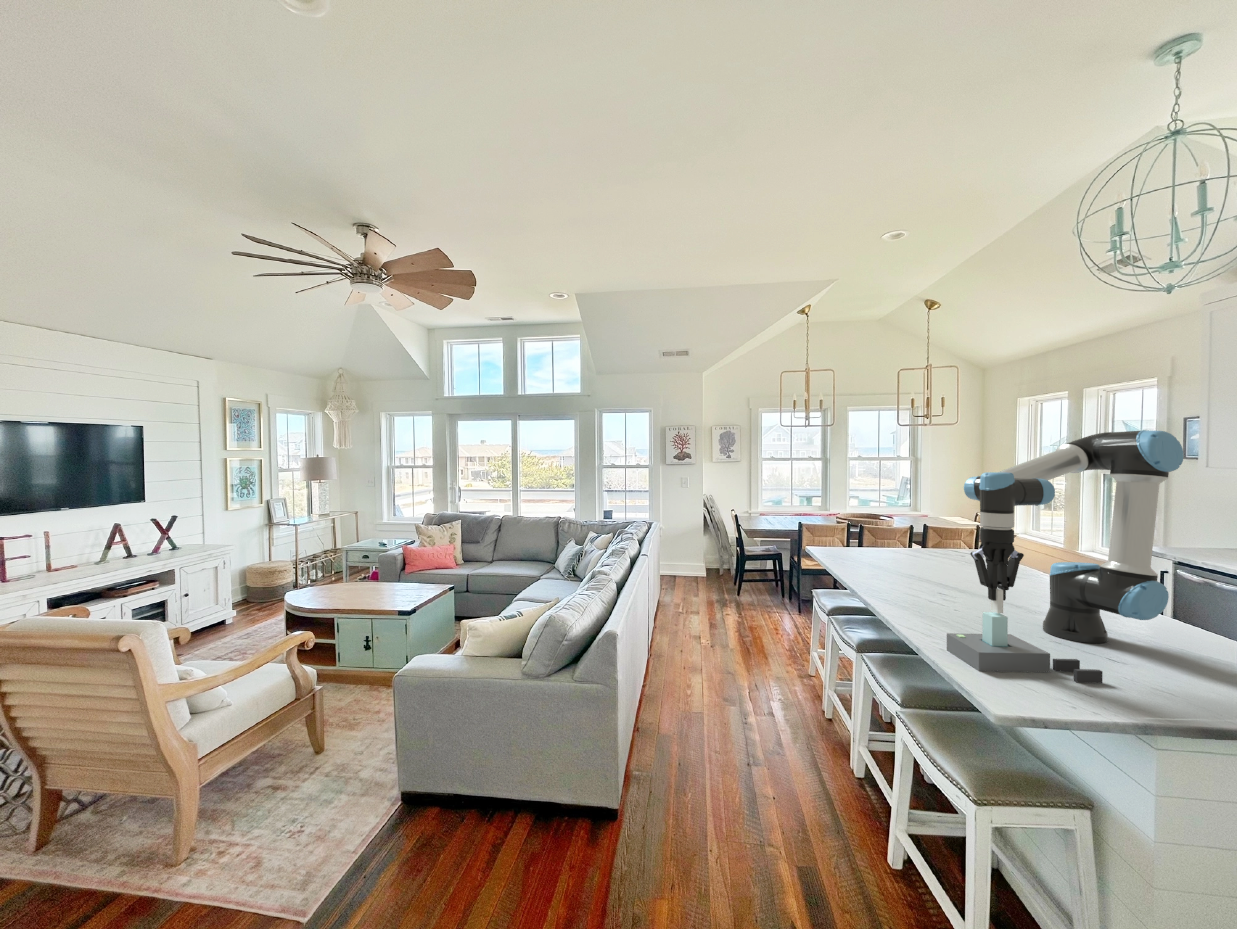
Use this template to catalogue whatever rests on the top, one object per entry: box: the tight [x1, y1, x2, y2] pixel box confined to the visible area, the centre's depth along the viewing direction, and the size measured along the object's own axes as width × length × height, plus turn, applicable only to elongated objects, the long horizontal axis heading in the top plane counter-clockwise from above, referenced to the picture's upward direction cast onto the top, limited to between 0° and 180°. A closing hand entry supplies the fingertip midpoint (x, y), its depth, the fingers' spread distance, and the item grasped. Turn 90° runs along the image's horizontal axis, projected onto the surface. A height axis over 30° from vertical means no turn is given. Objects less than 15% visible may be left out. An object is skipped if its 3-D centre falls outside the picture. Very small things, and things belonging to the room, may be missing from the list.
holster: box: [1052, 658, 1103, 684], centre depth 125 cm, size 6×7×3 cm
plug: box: [981, 611, 1009, 647], centre depth 135 cm, size 4×4×12 cm
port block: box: [946, 632, 1051, 673], centre depth 135 cm, size 18×14×5 cm
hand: (996, 611), depth 135 cm, fingers closed
